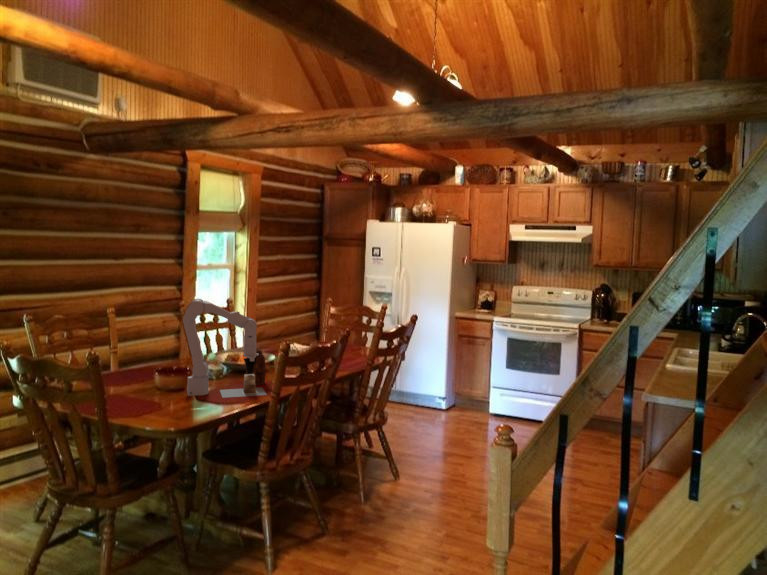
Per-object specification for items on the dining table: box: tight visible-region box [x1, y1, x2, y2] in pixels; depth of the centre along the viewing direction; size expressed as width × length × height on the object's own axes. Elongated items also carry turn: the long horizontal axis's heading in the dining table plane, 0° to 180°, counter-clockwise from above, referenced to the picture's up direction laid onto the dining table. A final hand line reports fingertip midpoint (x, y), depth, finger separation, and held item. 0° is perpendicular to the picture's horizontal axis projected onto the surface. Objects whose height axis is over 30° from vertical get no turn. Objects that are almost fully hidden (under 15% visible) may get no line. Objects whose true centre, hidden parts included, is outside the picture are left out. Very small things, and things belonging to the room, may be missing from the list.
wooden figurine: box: [245, 347, 266, 386], centre depth 309 cm, size 12×6×18 cm, turn 63°
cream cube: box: [243, 373, 255, 385], centre depth 290 cm, size 4×4×4 cm
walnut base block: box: [242, 383, 257, 394], centre depth 291 cm, size 5×5×4 cm
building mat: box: [219, 387, 268, 399], centre depth 290 cm, size 20×14×1 cm
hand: (249, 373), depth 290 cm, fingers closed
